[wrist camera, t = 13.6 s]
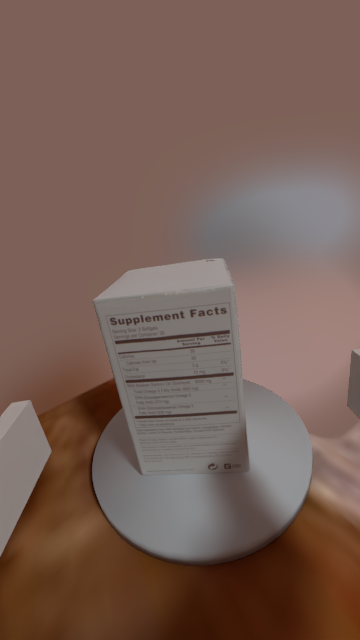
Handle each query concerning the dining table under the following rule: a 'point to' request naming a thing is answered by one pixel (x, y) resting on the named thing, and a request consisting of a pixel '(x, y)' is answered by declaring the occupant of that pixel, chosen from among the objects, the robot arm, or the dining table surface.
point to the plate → (209, 490)
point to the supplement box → (178, 366)
